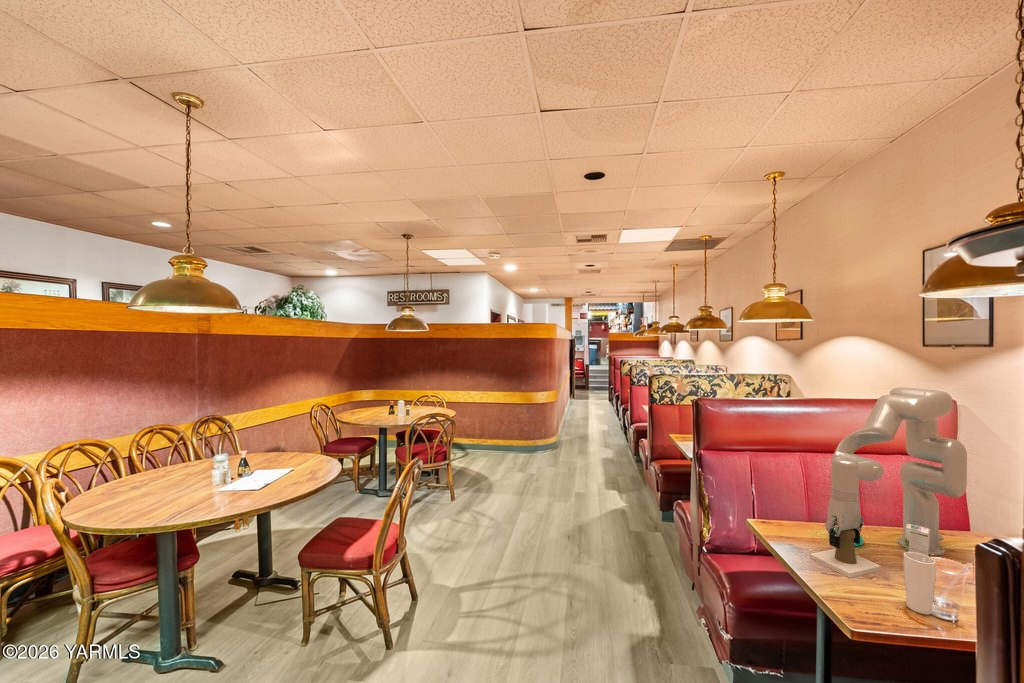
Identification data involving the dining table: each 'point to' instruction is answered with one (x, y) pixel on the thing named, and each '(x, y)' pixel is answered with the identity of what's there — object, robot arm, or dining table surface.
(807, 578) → the dining table surface
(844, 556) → the cork
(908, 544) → the syrup box
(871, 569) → the ceramic tile
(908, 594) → the white tall cup
